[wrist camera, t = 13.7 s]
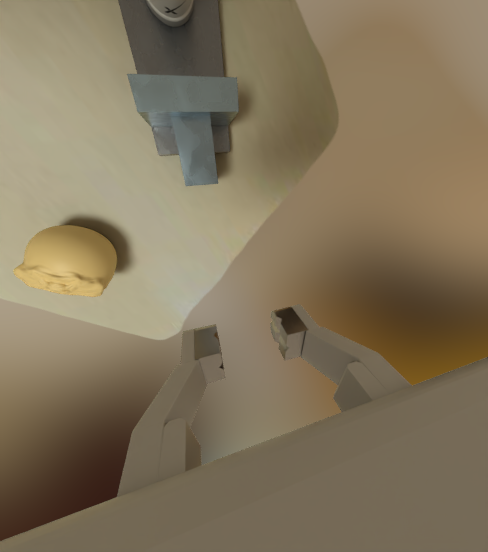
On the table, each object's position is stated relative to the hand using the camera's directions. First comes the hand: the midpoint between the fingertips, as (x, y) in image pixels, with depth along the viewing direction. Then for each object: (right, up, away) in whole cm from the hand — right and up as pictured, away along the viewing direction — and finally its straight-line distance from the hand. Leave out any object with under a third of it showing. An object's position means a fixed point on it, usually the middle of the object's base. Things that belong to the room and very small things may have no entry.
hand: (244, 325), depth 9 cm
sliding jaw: (-8, +24, +20) cm, 33 cm away
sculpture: (-31, +8, +26) cm, 41 cm away
